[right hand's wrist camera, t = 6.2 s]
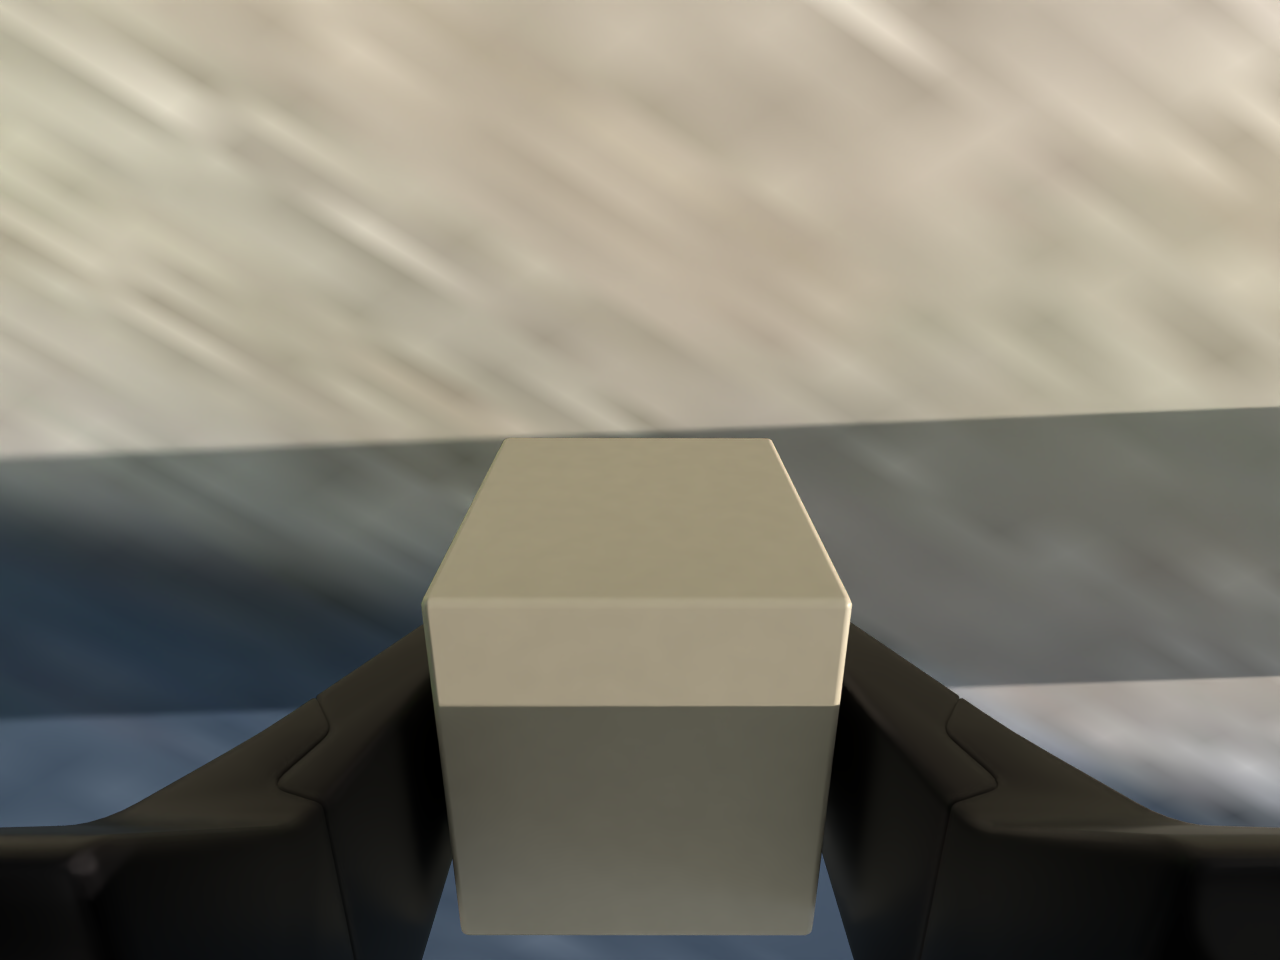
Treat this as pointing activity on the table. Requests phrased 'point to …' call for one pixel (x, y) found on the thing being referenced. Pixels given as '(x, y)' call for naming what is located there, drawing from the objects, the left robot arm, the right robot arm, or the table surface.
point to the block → (636, 690)
